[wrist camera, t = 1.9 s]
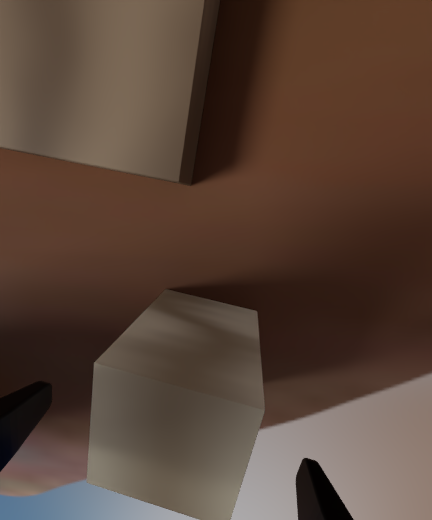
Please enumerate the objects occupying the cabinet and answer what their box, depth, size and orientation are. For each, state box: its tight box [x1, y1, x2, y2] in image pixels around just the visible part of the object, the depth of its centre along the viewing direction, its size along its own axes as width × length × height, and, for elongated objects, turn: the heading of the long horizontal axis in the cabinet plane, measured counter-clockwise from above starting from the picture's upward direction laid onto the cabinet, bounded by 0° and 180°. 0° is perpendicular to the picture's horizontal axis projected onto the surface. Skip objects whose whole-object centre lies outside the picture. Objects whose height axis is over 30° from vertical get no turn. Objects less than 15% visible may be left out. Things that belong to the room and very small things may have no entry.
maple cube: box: [87, 289, 265, 520], centre depth 10 cm, size 5×5×6 cm
